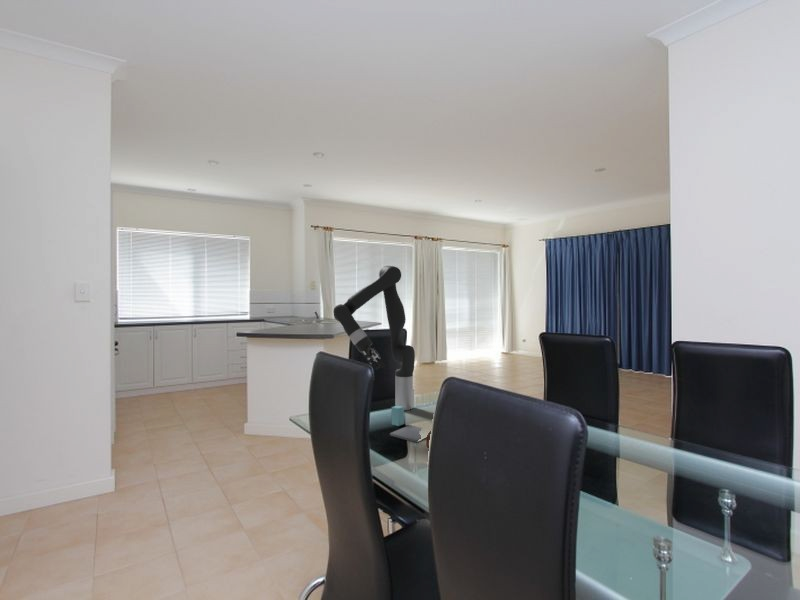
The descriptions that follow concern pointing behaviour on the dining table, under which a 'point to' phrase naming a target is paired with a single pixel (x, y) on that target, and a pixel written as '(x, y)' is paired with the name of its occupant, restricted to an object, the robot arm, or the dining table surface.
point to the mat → (408, 433)
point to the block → (397, 415)
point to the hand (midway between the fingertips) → (380, 367)
